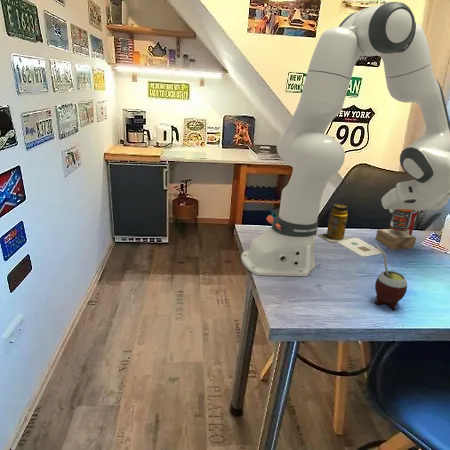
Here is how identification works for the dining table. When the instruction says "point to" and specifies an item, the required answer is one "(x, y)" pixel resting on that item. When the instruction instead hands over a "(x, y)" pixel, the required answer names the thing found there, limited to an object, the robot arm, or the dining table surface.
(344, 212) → the condiment
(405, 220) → the supplement bottle
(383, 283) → the mate gourd
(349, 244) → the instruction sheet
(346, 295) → the dining table surface
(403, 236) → the pedestal
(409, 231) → the soda can
